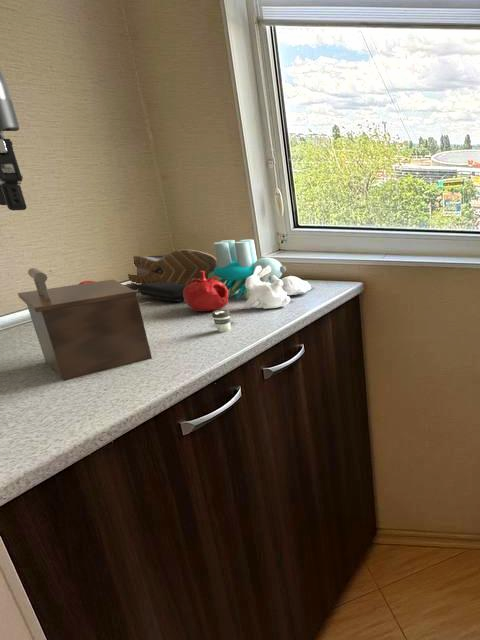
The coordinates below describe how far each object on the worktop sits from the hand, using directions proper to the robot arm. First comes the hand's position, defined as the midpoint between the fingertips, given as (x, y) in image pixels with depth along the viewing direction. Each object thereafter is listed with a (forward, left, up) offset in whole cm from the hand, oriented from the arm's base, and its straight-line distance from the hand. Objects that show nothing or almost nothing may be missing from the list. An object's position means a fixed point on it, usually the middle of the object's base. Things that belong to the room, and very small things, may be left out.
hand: (12, 207), depth 84 cm
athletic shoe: (+33, +45, -23) cm, 61 cm away
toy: (+46, +22, -13) cm, 53 cm away
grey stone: (+54, +12, -27) cm, 62 cm away
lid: (+5, -4, -15) cm, 16 cm away
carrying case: (+29, +42, -26) cm, 57 cm away
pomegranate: (+33, +15, -28) cm, 46 cm away
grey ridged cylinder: (+28, -3, -28) cm, 40 cm away
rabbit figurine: (+44, +7, -27) cm, 52 cm away
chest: (+5, -3, -28) cm, 29 cm away
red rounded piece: (+14, +34, -21) cm, 42 cm away
